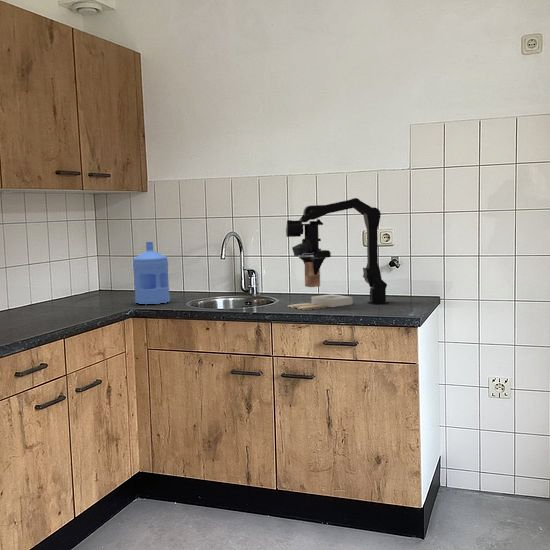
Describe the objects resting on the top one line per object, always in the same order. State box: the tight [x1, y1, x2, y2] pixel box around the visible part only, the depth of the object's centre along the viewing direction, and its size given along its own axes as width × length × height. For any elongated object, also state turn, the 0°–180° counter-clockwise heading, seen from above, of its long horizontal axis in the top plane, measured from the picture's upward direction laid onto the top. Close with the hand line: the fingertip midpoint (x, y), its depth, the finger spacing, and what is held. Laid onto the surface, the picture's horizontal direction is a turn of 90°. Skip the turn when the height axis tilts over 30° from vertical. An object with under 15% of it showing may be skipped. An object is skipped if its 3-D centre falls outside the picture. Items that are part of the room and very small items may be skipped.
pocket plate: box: [310, 293, 354, 308], centre depth 278 cm, size 14×11×3 cm
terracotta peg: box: [304, 262, 321, 288], centre depth 272 cm, size 4×4×10 cm
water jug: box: [132, 241, 171, 305], centre depth 302 cm, size 16×16×28 cm
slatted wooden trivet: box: [287, 302, 327, 311], centre depth 272 cm, size 13×10×1 cm
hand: (312, 274), depth 272 cm, fingers closed on terracotta peg, 4 cm apart
